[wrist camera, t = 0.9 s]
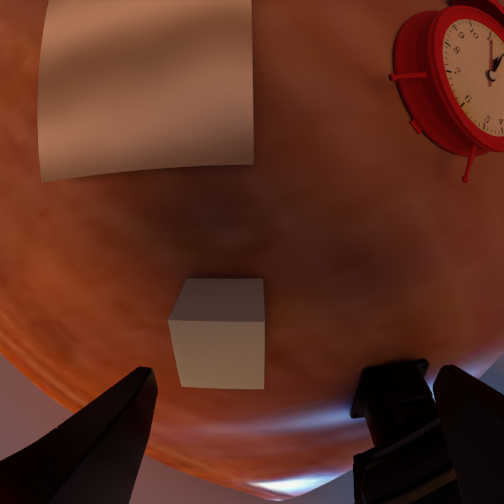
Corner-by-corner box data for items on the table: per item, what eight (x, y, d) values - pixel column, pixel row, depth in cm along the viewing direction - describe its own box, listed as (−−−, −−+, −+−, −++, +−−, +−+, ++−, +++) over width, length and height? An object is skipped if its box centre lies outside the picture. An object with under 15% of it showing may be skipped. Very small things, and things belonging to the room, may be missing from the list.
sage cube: (262, 339, 21) (263, 389, 17) (194, 338, 22) (181, 386, 17) (263, 278, 20) (265, 321, 15) (186, 277, 20) (167, 320, 15)
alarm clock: (368, 57, 11) (509, -46, 4) (349, 67, 17) (469, -26, 10) (478, 210, 14) (589, 88, 7) (440, 178, 19) (542, 79, 12)
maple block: (254, 158, 17) (253, 164, 14) (76, 172, 17) (41, 182, 14) (251, -17, 13) (250, -48, 9) (79, 14, 13) (49, -2, 9)
